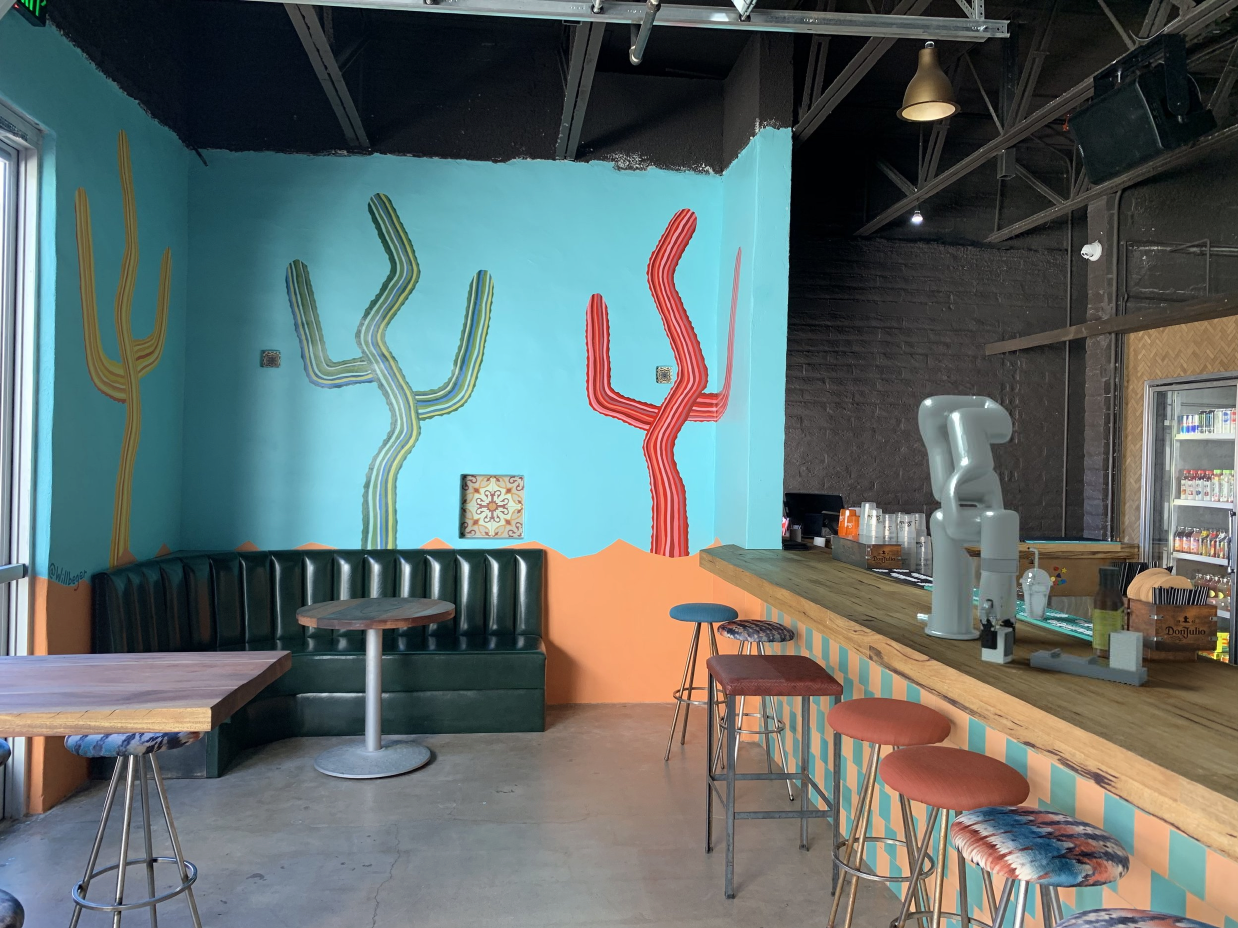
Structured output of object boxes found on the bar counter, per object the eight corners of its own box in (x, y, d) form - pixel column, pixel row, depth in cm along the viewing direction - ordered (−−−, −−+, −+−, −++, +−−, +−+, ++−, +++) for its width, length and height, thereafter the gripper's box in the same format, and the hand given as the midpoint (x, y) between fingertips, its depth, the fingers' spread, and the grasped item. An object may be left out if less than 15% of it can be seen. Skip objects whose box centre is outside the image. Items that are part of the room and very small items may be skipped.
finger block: (981, 659, 182) (982, 627, 182) (990, 656, 185) (991, 624, 185) (1005, 664, 178) (1006, 631, 178) (1013, 660, 182) (1014, 628, 182)
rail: (1030, 666, 177) (1031, 621, 177) (1040, 661, 181) (1041, 617, 181) (1138, 686, 163) (1139, 637, 163) (1146, 680, 167) (1148, 633, 167)
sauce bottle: (1128, 660, 184) (1131, 570, 184) (1097, 658, 185) (1100, 568, 185) (1117, 653, 191) (1119, 566, 190) (1087, 651, 192) (1089, 565, 192)
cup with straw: (1059, 620, 229) (1061, 547, 229) (1031, 621, 227) (1033, 547, 227) (1037, 614, 238) (1039, 544, 237) (1009, 615, 235) (1011, 544, 235)
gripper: (997, 563, 190) (996, 638, 190) (965, 567, 178) (964, 648, 178) (1032, 566, 185) (1031, 643, 185) (1001, 570, 173) (1000, 653, 172)
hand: (998, 645), depth 181 cm, fingers open, 9 cm apart
